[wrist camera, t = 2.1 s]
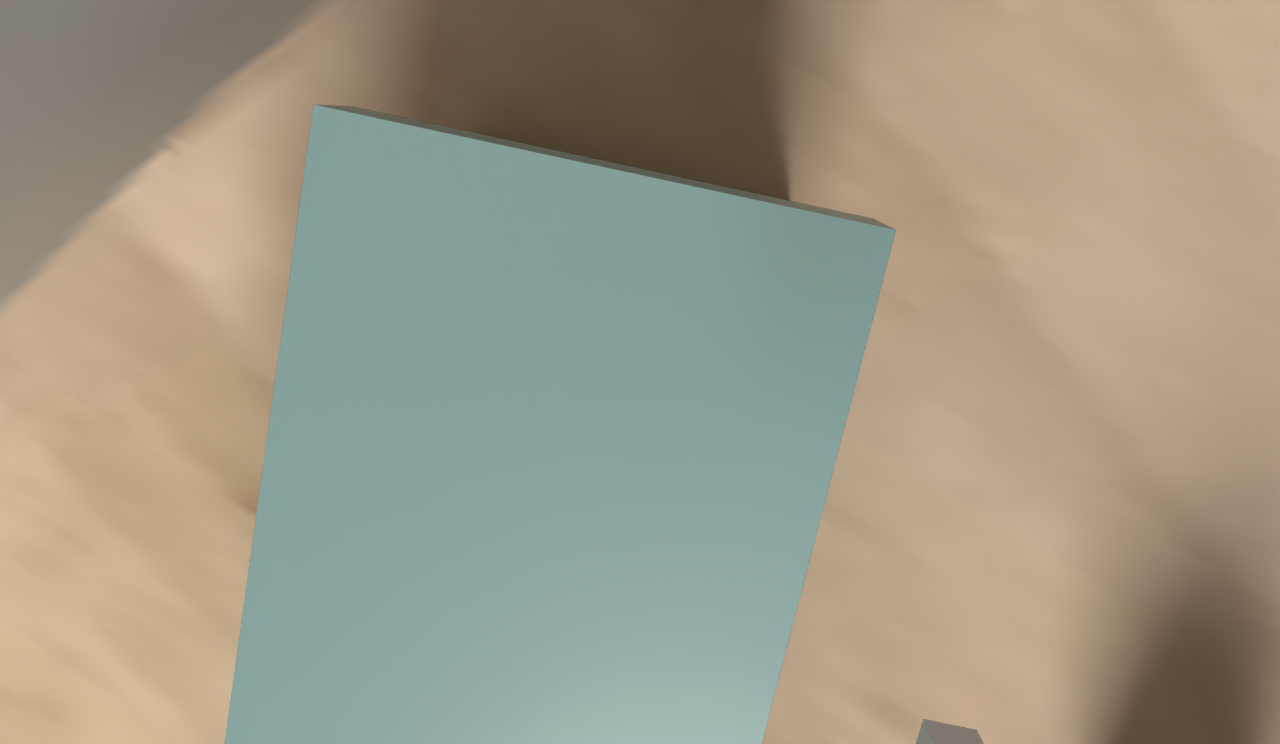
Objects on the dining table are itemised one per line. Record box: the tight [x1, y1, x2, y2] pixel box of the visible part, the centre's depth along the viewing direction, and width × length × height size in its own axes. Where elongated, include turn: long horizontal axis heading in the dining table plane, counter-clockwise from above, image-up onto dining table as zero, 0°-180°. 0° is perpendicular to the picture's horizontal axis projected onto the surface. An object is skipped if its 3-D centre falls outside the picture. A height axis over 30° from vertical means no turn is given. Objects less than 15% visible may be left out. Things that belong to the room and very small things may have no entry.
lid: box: [225, 105, 896, 744], centre depth 24 cm, size 11×15×4 cm
